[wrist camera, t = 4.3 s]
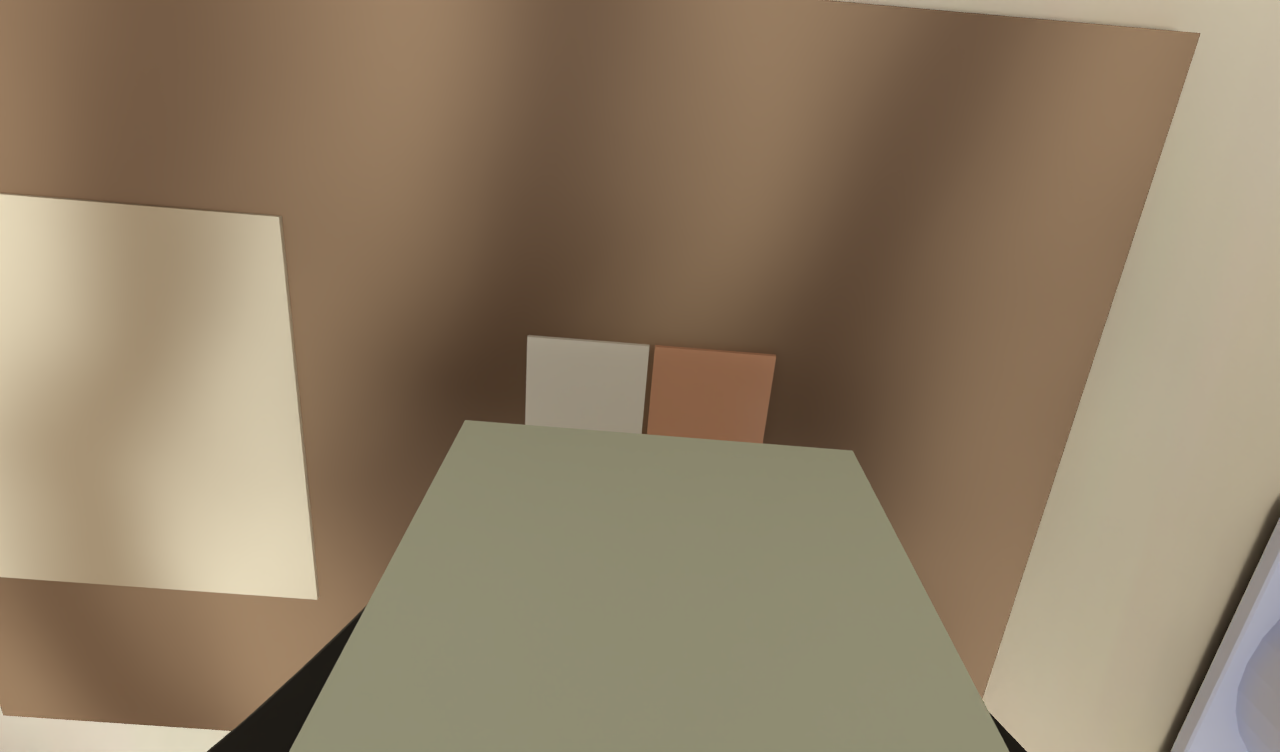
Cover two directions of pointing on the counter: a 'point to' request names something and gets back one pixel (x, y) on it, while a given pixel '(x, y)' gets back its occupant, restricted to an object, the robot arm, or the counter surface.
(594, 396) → the tiles
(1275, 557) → the robot arm
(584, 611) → the sage block
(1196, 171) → the counter surface
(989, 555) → the walnut board
